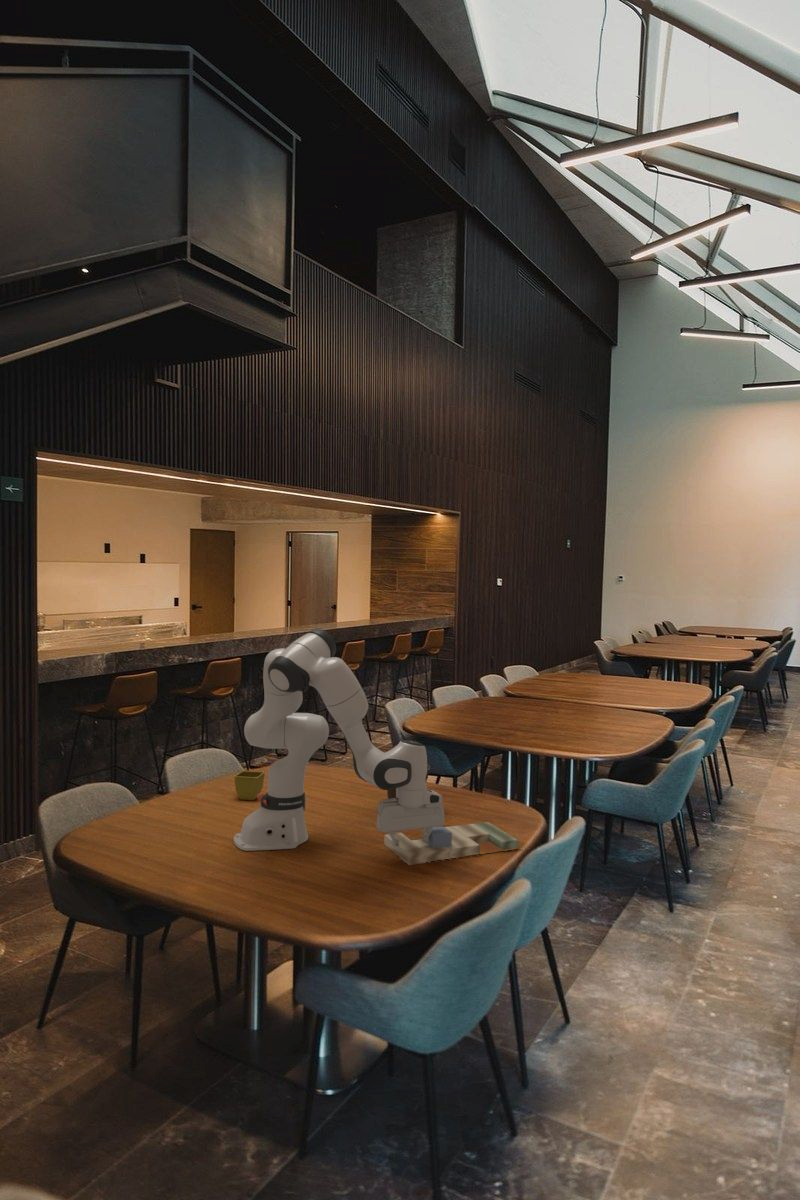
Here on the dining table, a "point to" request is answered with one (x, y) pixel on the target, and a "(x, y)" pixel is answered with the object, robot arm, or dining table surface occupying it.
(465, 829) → the wooden cutout board
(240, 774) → the flower pot
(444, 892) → the dining table surface
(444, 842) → the slate block
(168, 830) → the dining table surface
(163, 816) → the dining table surface
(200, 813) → the dining table surface
